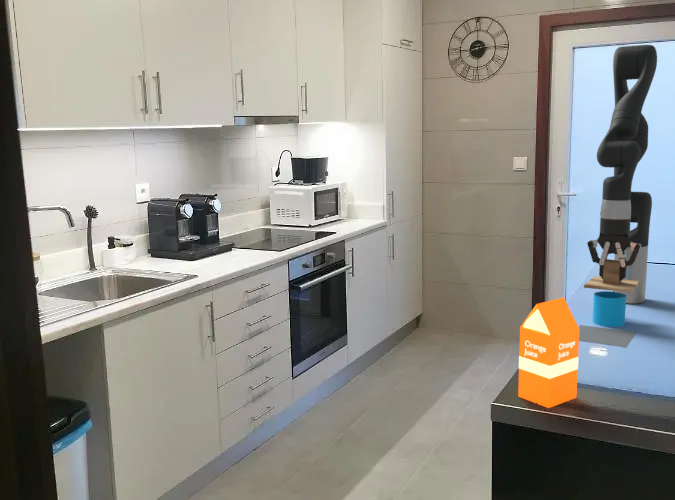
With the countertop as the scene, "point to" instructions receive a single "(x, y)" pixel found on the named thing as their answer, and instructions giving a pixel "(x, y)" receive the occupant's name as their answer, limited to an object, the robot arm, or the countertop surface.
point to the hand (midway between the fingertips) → (612, 278)
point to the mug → (609, 309)
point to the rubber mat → (605, 336)
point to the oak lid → (612, 279)
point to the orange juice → (549, 354)
